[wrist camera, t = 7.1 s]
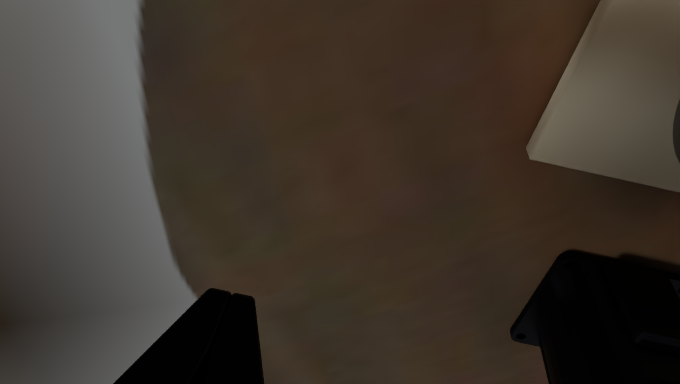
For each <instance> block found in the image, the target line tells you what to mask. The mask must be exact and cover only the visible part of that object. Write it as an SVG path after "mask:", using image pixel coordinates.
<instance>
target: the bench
mask: <svg viewBox="0 0 680 384" xmlns="http://www.w3.org/2000/svg"><path fill="white" fill-rule="evenodd" d="M679 99H680V0H600V2H599V4H598V6H597V8H596V10H595V12H594V14H593V16H592V18H591V20H590V22H589V24H588V26H587V28H586V30H585V32H584V34H583V36H582V38H581V40H580V42H579V44H578V46H577V48H576V50H575V52H574V54H573V56H572V58H571V60H570V62H569V64H568V66H567V68H566V70H565V72H564V74H563V76H562V77H561V79H560V81H559V83H558V85H557V87H556V89H555V91H554V93H553V95H552V97H551V99H550V101H549V103H548V105H547V107H546V109H545V111H544V113H543V115H542V117H541V119H540V121H539V123H538V125H537V127H536V129H535V131H534V133H533V135H532V137H531V139H530V141H529V143H528V145H527V147H526V149H527V152H528V156H529V159H531V160H536V161H540V162H545V163H549V164H554V165H558V166H563V167H567V168H572V169H576V170H581V171H585V172H590V173H594V174H599V175H603V176H608V177H612V178H617V179H621V180H626V181H630V182H635V183H639V184H644V185H648V186H653V187H657V188H662V189H666V190H671V191H675V192H680V163H679V161H678V159H677V157H676V154H675V150H674V145H673V122H674V117H675V112H676V109H677V105H678V102H679Z"/></svg>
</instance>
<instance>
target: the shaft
mask: <svg viewBox="0 0 680 384" xmlns="http://www.w3.org/2000/svg"><path fill="white" fill-rule="evenodd" d="M673 145H674V150H675V154H676V157H677V159H678V161H679V163H680V99H679V102H678V105H677V109H676V112H675V117H674V122H673Z"/></svg>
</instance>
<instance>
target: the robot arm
mask: <svg viewBox="0 0 680 384" xmlns="http://www.w3.org/2000/svg"><path fill="white" fill-rule="evenodd" d="M567 262H571V263H567ZM510 334H511V338H512V340H514V341H516V342H520V343H525V344H530V345H534V346H539V347H540V348H541V352H542V357H543V361H544V365H545V370H546V374H547V378H548V382H549V384H680V275H677V274H672V273H667V272H663V271H658V270H654V269H649V268H644V267H640V266H635V265H630V264H626V263H621V262H616V261H612V260H607V259H603V258H598V257H593V256H589V255H584V254H579V253H575V252H565V253H562V254H560V255H559V256H558V257H557V258H556V260H555V262H554V263H553V265H552V266H551V268H550V269H549V271H548V272H547V274H546V275H545V277H544V278H543V280H542V281H541V283H540V284H539V286H538V287H537V289H536V290H535V292H534V293H533V295H532V297H531V298H530V300H529V301H528V303H527V304H526V306H525V307H524V309H523V310H522V312H521V313H520V315H519V316H518V318H517V319H516V321H515V322H514V324H513V325H512V327H511V329H510ZM113 384H264V377H263V368H262V360H261V351H260V342H259V333H258V324H257V315H256V307H255V300H254V298H253V297H252V296H248V295H243V294H239V293H234V294H232V295H231V293H230V292H228V291H225V290H220V289H215V288H210V289H208V290H207V291H206V292H205V293H204V294H203V295H202V296H201V297H200V298H199V299H198V300H197V301H196V302H195V303H194V304H193V305H192V306H191V307H190V308H189V309H188V310H187V311H186V312H185V313H184V314H183V315H182V316H181V317H180V318H179V319H178V320H177V321H176V322H175V323H174V324H173V325H172V326H171V327H170V328H169V329H168V330H167V331H166V332H165V333H164V334H162V335H161V336H160V337H159V339H158V340H157V341H156V342H154V343H153V344H152V345H151V347H150V348H148V350H146V352H144V354H143V355H142V356H140V357H139V359H137V361H135V363H133V365H131V366H130V367H129V368H128V370H126V371H125V372H124V373H123V375H121V376H120V377H119V378H118V379H117V380H116V381H115V383H113Z"/></svg>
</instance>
